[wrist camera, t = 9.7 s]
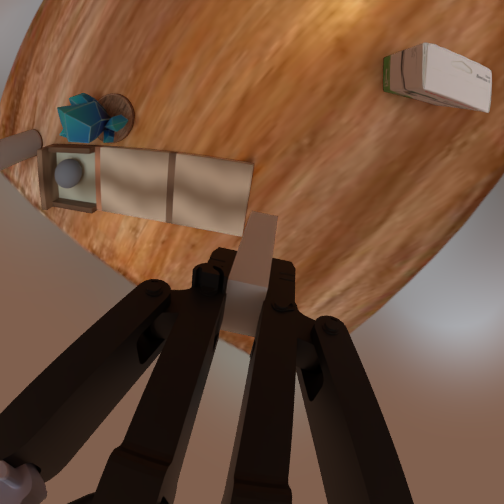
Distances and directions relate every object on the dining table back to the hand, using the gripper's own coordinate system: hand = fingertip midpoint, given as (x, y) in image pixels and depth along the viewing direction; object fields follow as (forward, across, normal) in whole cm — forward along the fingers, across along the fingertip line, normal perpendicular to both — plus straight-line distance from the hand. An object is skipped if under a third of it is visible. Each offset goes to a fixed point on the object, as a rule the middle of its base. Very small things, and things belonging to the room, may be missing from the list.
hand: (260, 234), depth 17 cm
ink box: (+22, +15, +15) cm, 30 cm away
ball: (+18, -30, -6) cm, 36 cm away
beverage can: (+21, -41, -2) cm, 46 cm away
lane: (+21, -19, -7) cm, 29 cm away
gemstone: (+22, -24, +2) cm, 32 cm away
